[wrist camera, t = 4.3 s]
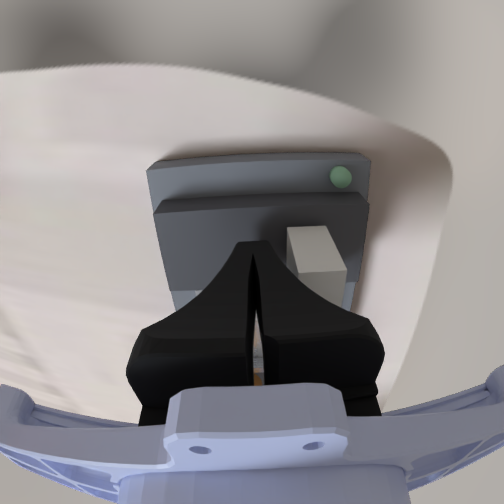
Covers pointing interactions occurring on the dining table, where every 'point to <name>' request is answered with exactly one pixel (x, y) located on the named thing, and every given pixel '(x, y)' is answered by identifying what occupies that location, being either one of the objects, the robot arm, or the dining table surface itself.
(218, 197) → the breaker panel
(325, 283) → the lever
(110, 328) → the dining table surface
